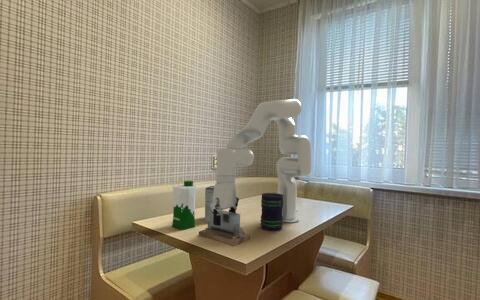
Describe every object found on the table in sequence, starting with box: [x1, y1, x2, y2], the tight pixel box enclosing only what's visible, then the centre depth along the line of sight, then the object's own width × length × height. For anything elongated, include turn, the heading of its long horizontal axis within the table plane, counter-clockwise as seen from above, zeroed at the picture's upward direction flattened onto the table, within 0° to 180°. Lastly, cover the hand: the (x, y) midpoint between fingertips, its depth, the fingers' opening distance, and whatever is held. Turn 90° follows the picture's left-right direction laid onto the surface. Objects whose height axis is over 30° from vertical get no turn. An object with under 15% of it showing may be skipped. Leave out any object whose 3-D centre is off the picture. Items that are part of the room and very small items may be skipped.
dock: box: [198, 220, 251, 246], centre depth 105 cm, size 10×18×5 cm, turn 55°
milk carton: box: [172, 180, 198, 231], centre depth 116 cm, size 9×9×20 cm
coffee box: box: [204, 185, 215, 222], centre depth 130 cm, size 9×6×16 cm
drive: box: [210, 209, 241, 237], centre depth 105 cm, size 4×12×8 cm, turn 55°
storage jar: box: [260, 192, 284, 232], centre depth 118 cm, size 10×10×15 cm
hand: (224, 222), depth 105 cm, fingers open, 9 cm apart
